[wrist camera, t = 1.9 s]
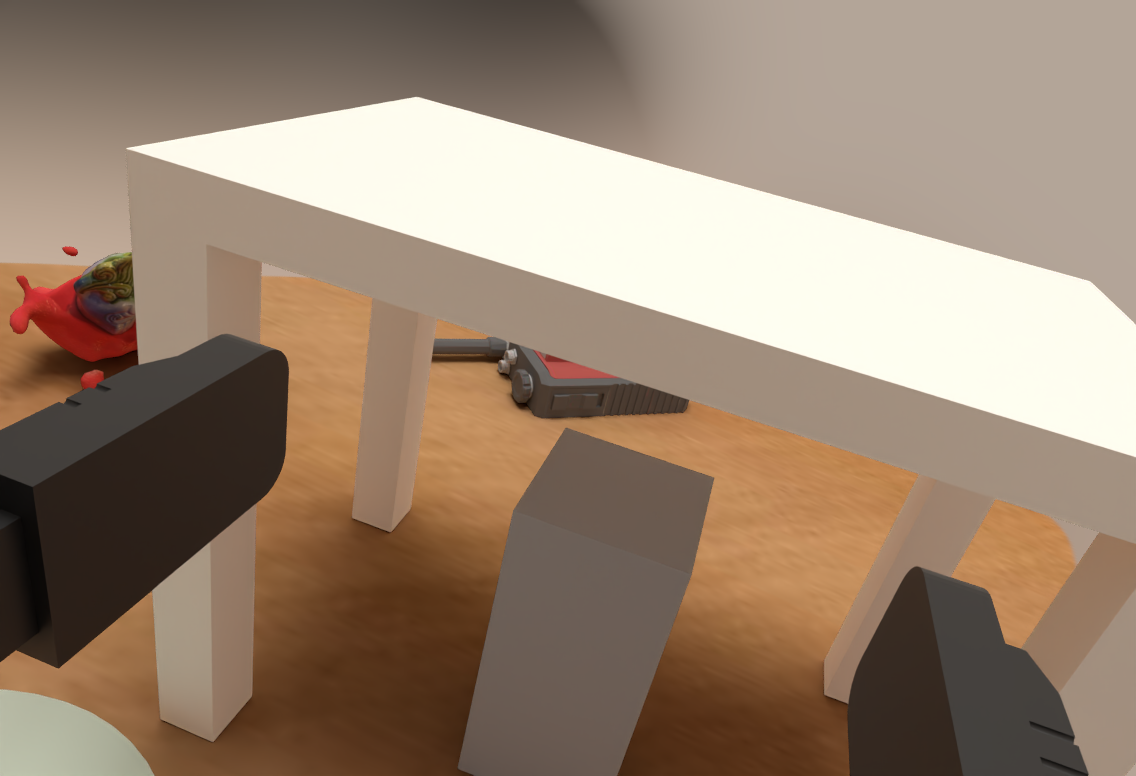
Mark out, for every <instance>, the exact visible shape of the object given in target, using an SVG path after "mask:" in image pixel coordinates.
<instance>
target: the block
mask: <svg viewBox="0 0 1136 776" xmlns="http://www.w3.org/2000/svg"><path fill="white" fill-rule="evenodd" d="M713 481H714V477H711V476H708V475H705V474H702V473H699V472H696V471H693V470H690V469H687V468H684V467H681V466H678V465H675V464H672V463H669V462H666V461H663V460H660V459H657V458H654V457H651V456H648V455H645V454H642V453H639V452H636V451H633V450H631V449H628V448H625V447H622V446H619V445H616V444H613V443H610V442H607V441H604V440H601V439H598V438H595V437H592V436H589V435H586V434H583V433H580V432H577V431H574V430H571V429H568V428H565V430H564V431H563V433H562V435H561V436H560V438H559V439H558V441H557V443H556V444H555V446H554V447H553V449H552V450H551V452H550V454H549V455H548V457H547V458H546V460H545V461H544V463H543V465H542V466H541V468H540V469H539V471H538V473H537V474H536V476H535V477H534V479H533V480H532V482H531V484H530V485H529V487H528V488H527V490H526V491H525V493H524V495H523V496H522V498H521V499H520V501H519V503H518V504H517V506H516V507H515V509H514V510H513V515H512V519H511V524H510V529H509V533H508V538H507V542H506V547H505V552H504V556H503V561H502V566H501V570H500V575H499V579H498V584H497V589H496V593H495V598H494V602H493V607H492V612H491V616H490V621H489V626H488V630H487V635H486V639H485V644H484V649H483V653H482V658H481V662H480V667H479V672H478V676H477V681H476V685H475V690H474V695H473V699H472V704H471V709H470V713H469V718H468V722H467V727H466V732H465V736H464V741H463V745H462V750H461V755H460V759H459V764H458V769H460V770H462V771H464V772H467V773H469V774H472V775H474V776H617V775H618V772H619V769H620V767H621V764H622V761H623V759H624V756H625V753H626V750H627V748H628V745H629V742H630V740H631V737H632V734H633V732H634V729H635V726H636V723H637V721H638V718H639V715H640V713H641V710H642V707H643V704H644V702H645V699H646V696H647V694H648V691H649V688H650V686H651V683H652V680H653V677H654V675H655V672H656V669H657V667H658V664H659V661H660V658H661V656H662V653H663V650H664V648H665V645H666V642H667V640H668V637H669V634H670V631H671V629H672V626H673V623H674V621H675V618H676V615H677V612H678V610H679V607H680V604H681V602H682V599H683V596H684V593H685V591H686V588H687V585H688V583H689V580H690V577H691V575H692V570H693V566H694V562H695V557H696V553H697V549H698V545H699V540H700V536H701V532H702V528H703V523H704V519H705V515H706V511H707V506H708V502H709V498H710V494H711V489H712V485H713Z"/></svg>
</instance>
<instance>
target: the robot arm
mask: <svg viewBox="0 0 1136 776" xmlns="http://www.w3.org/2000/svg"><path fill="white" fill-rule="evenodd" d="M288 379H289V367H288V361H287V358H286V356H285V355H284V354H283V353H282V352H281V351H279V350H276V349H273V348H270V347H267V346H264V345H261V344H258V343H255V342H252V341H249V340H246V339H243V338H240V337H237V336H234V335H231V334H221V335H219V336H216V337H214V338H212V339H210V340H208V341H206V342H204V343H202V344H200V345H198V346H196V347H194V348H192V349H190V350H188V351H186V352H184V353H182V354H180V355H178V356H175V357H170V358H166V359H162V360H157V361H153V362H149V363H144V364H140V365H135V366H132V367H130V368H128V369H126V370H124V371H122V372H120V373H117V374H115V375H113V376H111V377H109V378H107V379H105V380H103V381H101V382H99V383H97V385H96V387H95V388H94V389H93V388H91V387H89V388H87V389H84V390H82V391H80V392H78V393H76V394H74V395H72V396H70V397H68V398H66V402H65V403H64V404H63V403H60V402H58V403H56V404H54V405H51V406H49V407H47V408H45V409H43V410H41V411H39V412H37V413H35V414H33V415H31V416H29V417H27V418H25V419H23V420H21V421H18V422H16V423H14V424H12V425H10V426H8V427H6V428H4V429H2V430H0V662H1V661H2V660H4V659H5V658H6V657H8V656H9V655H10V654H11V653H13V652H14V651H15V650H17V651H19V652H22V653H24V654H26V655H28V656H31V657H33V658H35V659H38V660H40V661H42V662H45V663H47V664H49V665H51V666H54V667H56V668H58V669H59V668H60V667H61V666H62V665H63V664H65V663H66V662H67V661H68V660H69V659H71V658H72V657H73V656H74V655H75V654H77V653H78V652H79V651H80V650H81V649H82V648H84V647H85V646H86V645H87V644H88V643H90V642H91V641H92V640H93V639H94V638H96V637H97V636H98V635H99V634H100V633H102V632H103V631H104V630H105V629H106V628H108V627H109V626H110V625H111V624H112V623H114V622H115V621H116V620H117V619H118V618H120V617H121V616H122V615H123V614H124V613H126V612H127V611H128V610H129V609H130V608H132V607H133V606H134V605H135V604H136V603H138V602H139V601H140V600H141V599H142V598H144V597H145V596H146V595H147V594H148V593H150V592H151V591H152V590H153V589H154V588H155V587H157V586H158V585H159V584H160V583H161V582H163V581H164V580H165V579H166V578H167V577H169V576H170V575H171V574H172V573H173V572H175V571H176V570H177V569H178V568H179V567H181V566H182V565H183V564H184V563H185V562H187V561H188V560H189V559H190V558H191V557H193V556H194V555H195V554H196V553H197V552H199V551H200V550H201V549H202V548H203V547H205V546H206V545H207V544H208V543H209V542H211V541H212V540H213V539H214V538H215V537H217V536H218V535H219V534H220V533H221V532H223V531H224V530H225V529H226V528H227V527H229V526H230V525H231V524H232V523H233V522H234V521H236V520H237V519H238V518H239V517H240V516H242V515H243V514H244V513H245V512H246V511H248V510H249V509H250V508H251V507H252V506H254V505H255V504H256V503H257V502H258V501H260V500H261V499H262V498H263V497H264V496H265V495H266V494H267V493H268V492H269V491H270V489H271V488H272V487H273V485H274V483H275V482H276V480H277V478H278V476H279V474H280V472H281V469H282V466H283V463H284V458H285V451H286V429H287V404H288ZM1074 739H1075V735H1074V732H1073V729H1072V727H1071V724H1070V721H1069V718H1068V716H1067V713H1066V710H1065V708H1064V705H1063V702H1062V699H1061V697H1060V694H1059V693H1058V691H1057V690H1056V689H1055V687H1054V686H1053V685H1052V684H1051V682H1050V681H1049V680H1048V678H1047V677H1046V676H1045V675H1044V673H1043V672H1042V671H1041V669H1040V668H1039V667H1038V666H1037V664H1036V663H1035V662H1034V660H1033V659H1032V658H1031V656H1030V655H1029V654H1028V653H1027V651H1025V650H1022V649H1020V648H1017V647H1014V646H1011V645H1008V644H1005V641H1004V638H1003V635H1002V631H1001V628H1000V625H999V621H998V618H997V615H996V612H995V608H994V605H993V602H992V599H991V596H990V594H989V593H988V591H987V590H986V589H984V588H981V587H978V586H975V585H972V584H969V583H966V582H963V581H960V580H957V579H954V578H951V577H948V576H945V575H942V574H939V573H936V572H933V571H930V570H927V569H924V568H921V567H918V566H916V567H913V568H912V569H910V570H909V571H908V573H907V574H906V575H905V577H904V578H903V580H902V582H901V584H900V585H899V587H898V589H897V591H896V593H895V595H894V597H893V599H892V601H891V603H890V605H889V606H888V608H887V610H886V612H885V614H884V616H883V618H882V620H881V622H880V624H879V626H878V627H877V629H876V631H875V633H874V635H873V637H872V639H871V641H870V643H869V645H868V647H867V648H866V650H865V652H864V654H863V656H862V658H861V660H860V662H859V664H858V667H857V669H856V672H855V675H854V678H853V682H852V686H851V690H850V695H849V702H848V741H849V764H850V776H1088V775H1089V773H1088V771H1087V768H1086V765H1085V762H1084V760H1083V757H1082V754H1081V751H1080V749H1079V746H1077V745H1074Z"/></svg>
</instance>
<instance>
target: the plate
mask: <svg viewBox="0 0 1136 776" xmlns="http://www.w3.org/2000/svg"><path fill="white" fill-rule="evenodd" d="M0 776H154V774H153V772H152V770H151V768H150V766H149V765H148V763H147V761H146V760H145V759H144V757H143V756H142V755H141V754H140V752H139V751H138V750H137V749H136V747H135V746H134V745H133V744H132V742H131V741H129V740H128V739H127V738H126V737H125V736H124V735H123V734H121V733H120V732H119V731H118V730H117V729H116V728H115V727H113V726H112V725H111V724H109V723H107V722H106V721H104V720H102V719H101V718H99V717H98V716H96V715H94V714H93V713H91V712H89V711H87V710H84V709H82V708H79V707H77V706H75V705H72V704H70V703H67V702H65V701H61V700H57V699H54V698H50V697H46V696H42V695H39V694H33V693H26V692H19V691H12V690H0Z"/></svg>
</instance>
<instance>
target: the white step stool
mask: <svg viewBox="0 0 1136 776" xmlns="http://www.w3.org/2000/svg"><path fill="white" fill-rule="evenodd" d="M126 162H127V179H128V196H129V212H130V229H131V246H132V262H133V279H134V296H135V312H136V329H137V345H138V362H139V365H140V364H144V363H149V362H153V361H157V360H162V359H166V358H170V357H175V356H178V355H180V354H182V353H184V352H186V351H188V350H190V349H192V348H194V347H196V346H198V345H200V344H202V343H204V342H206V341H208V340H210V339H212V338H214V337H216V336H219V335H221V334H231V335H234V336H237V337H240V338H243V339H246V340H249V341H252V342H255V343H258V344H260V315H261V268H262V267H261V266H262V262H263V263H266V264H269V265H272V266H275V267H279V268H282V269H285V270H288V271H291V272H294V273H297V274H300V275H304V276H307V277H310V278H313V279H316V280H319V281H322V282H325V283H328V284H331V285H334V286H337V287H341V288H344V289H347V290H350V291H353V292H356V293H359V294H362V295H365V296H368V297H372V298H373V299H372V309H371V320H370V330H369V341H368V351H367V362H366V373H365V383H364V394H363V404H362V415H361V425H360V436H359V447H358V457H357V468H356V478H355V489H354V499H353V510H352V518H354V519H356V520H359V521H362V522H364V523H367V524H370V525H372V526H375V527H378V528H380V529H383V530H386V531H388V532H392V530H393V529H394V528H395V527H396V526H397V525H398V523H399V522H400V521H401V520H402V519H403V518H404V516H405V515H406V514H407V513H408V512H409V510H410V509H411V504H412V497H413V490H414V482H415V475H416V468H417V461H418V454H419V446H420V439H421V432H422V425H423V417H424V410H425V403H426V396H427V389H428V381H429V374H430V367H431V360H432V353H433V345H434V338H435V331H436V324H437V319H440V320H443V321H446V322H449V323H452V324H455V325H458V326H462V327H465V328H468V329H471V330H474V331H477V332H480V333H483V334H486V335H489V336H493V337H496V338H499V339H502V340H505V341H508V342H511V343H514V344H517V345H520V346H524V347H527V348H530V349H533V350H536V351H539V352H542V353H545V354H548V355H551V356H555V357H558V358H561V359H564V360H567V361H570V362H573V363H576V364H579V365H582V366H586V367H589V368H592V369H595V370H598V371H601V372H604V373H607V374H610V375H613V376H617V377H620V378H623V379H626V380H629V381H632V382H635V383H638V384H641V385H644V386H648V387H651V388H654V389H657V390H660V391H663V392H666V393H669V394H672V395H675V396H679V397H682V398H685V399H688V400H691V401H694V402H697V403H700V404H703V405H706V406H710V407H713V408H716V409H719V410H722V411H725V412H728V413H731V414H734V415H737V416H741V417H744V418H747V419H750V420H753V421H756V422H759V423H762V424H765V425H768V426H772V427H775V428H778V429H781V430H784V431H787V432H790V433H793V434H796V435H799V436H803V437H806V438H809V439H812V440H815V441H818V442H821V443H824V444H827V445H830V446H834V447H837V448H840V449H843V450H846V451H849V452H852V453H855V454H858V455H861V456H865V457H868V458H871V459H874V460H877V461H880V462H883V463H886V464H889V465H892V466H896V467H899V468H902V469H905V470H908V471H911V472H914V473H917V474H919V475H918V477H917V479H916V481H915V483H914V485H913V487H912V489H911V491H910V493H909V495H908V497H907V499H906V501H905V503H904V505H903V507H902V509H901V511H900V513H899V514H898V516H897V518H896V520H895V522H894V524H893V526H892V528H891V530H890V532H889V534H888V536H887V538H886V540H885V542H884V544H883V546H882V548H881V550H880V552H879V554H878V556H877V558H876V560H875V562H874V564H873V565H872V567H871V569H870V571H869V573H868V575H867V577H866V579H865V581H864V583H863V585H862V587H861V589H860V591H859V593H858V595H857V597H856V599H855V601H854V603H853V605H852V607H851V609H850V611H849V613H848V615H847V616H846V618H845V620H844V622H843V624H842V626H841V628H840V630H839V632H838V634H837V636H836V638H835V640H834V642H833V644H832V646H831V648H830V650H829V652H828V654H827V656H826V658H825V660H824V695H826V696H829V697H831V698H834V699H837V700H839V701H842V702H845V703H847V704H848V702H849V695H850V690H851V686H852V682H853V678H854V675H855V672H856V669H857V667H858V664H859V662H860V660H861V658H862V656H863V654H864V652H865V650H866V648H867V647H868V645H869V643H870V641H871V639H872V637H873V635H874V633H875V631H876V629H877V627H878V626H879V624H880V622H881V620H882V618H883V616H884V614H885V612H886V610H887V608H888V606H889V605H890V603H891V601H892V599H893V597H894V595H895V593H896V591H897V589H898V587H899V585H900V584H901V582H902V580H903V578H904V577H905V575H906V574H907V573H908V571H909V570H910V569H912V568H913V567H916V566H918V567H921V568H924V569H927V570H930V571H933V572H936V573H939V574H942V575H945V576H948V577H951V575H952V574H953V572H954V570H955V568H956V567H957V565H958V563H959V561H960V560H961V558H962V556H963V555H964V553H965V551H966V549H967V548H968V546H969V544H970V542H971V541H972V539H973V537H974V535H975V534H976V532H977V530H978V529H979V527H980V525H981V523H982V522H983V520H984V518H985V516H986V515H987V513H988V511H989V509H990V508H991V506H992V504H993V503H994V501H995V499H998V500H1001V501H1004V502H1007V503H1010V504H1013V505H1017V506H1020V507H1023V508H1026V509H1029V510H1032V511H1035V512H1038V513H1041V514H1044V515H1048V516H1051V517H1054V518H1057V519H1060V520H1063V521H1066V522H1069V523H1073V524H1075V525H1079V526H1082V527H1085V528H1088V529H1091V530H1094V531H1097V532H1099V534H1098V535H1097V536H1096V538H1095V540H1094V541H1093V543H1092V544H1091V545H1090V547H1089V548H1088V550H1087V551H1086V553H1085V554H1084V556H1083V557H1082V559H1081V560H1080V562H1079V563H1078V565H1077V566H1076V568H1075V569H1074V571H1073V572H1072V574H1071V575H1070V577H1069V578H1068V580H1067V581H1066V583H1065V584H1064V585H1063V587H1062V588H1061V590H1060V591H1059V593H1058V594H1057V596H1056V597H1055V599H1054V600H1053V602H1052V603H1051V605H1050V606H1049V608H1048V609H1047V611H1046V612H1045V614H1044V615H1043V617H1042V618H1041V620H1040V621H1039V623H1038V624H1037V626H1036V627H1035V629H1034V630H1033V632H1032V633H1031V635H1030V636H1029V638H1028V639H1027V641H1026V642H1025V644H1024V645H1023V647H1022V648H1021V649H1022V650H1025V651H1027V653H1028V654H1029V655H1030V656H1031V658H1032V659H1033V660H1034V662H1035V663H1036V664H1037V666H1038V667H1039V668H1040V669H1041V671H1042V672H1043V673H1044V675H1045V676H1046V677H1047V678H1048V680H1049V681H1050V682H1051V684H1052V685H1053V686H1054V687H1055V689H1056V690H1057V691H1058V693H1059V694H1060V697H1061V699H1062V702H1063V705H1064V708H1065V710H1066V713H1067V716H1068V718H1069V721H1070V724H1071V727H1072V729H1073V732H1074V735H1075V739H1074V745H1077V746H1079V749H1080V751H1081V754H1082V757H1083V760H1084V762H1085V765H1086V768H1087V771H1088V773H1089V775H1088V776H1125V775H1126V774H1127V773H1128V771H1130V769H1131V768H1132V767H1133V766H1134V765H1135V763H1136V324H1135V323H1134V322H1133V321H1131V320H1130V319H1129V318H1128V317H1127V316H1126V315H1125V314H1124V313H1123V312H1122V311H1121V310H1120V309H1119V308H1118V307H1117V306H1116V305H1115V304H1113V303H1112V302H1111V301H1110V300H1109V299H1108V298H1107V297H1106V296H1105V295H1104V294H1103V293H1102V292H1101V291H1100V290H1099V289H1098V288H1097V287H1096V286H1094V285H1093V284H1092V283H1091V282H1090V281H1087V280H1083V279H1079V278H1076V277H1072V276H1068V275H1065V274H1062V273H1058V272H1054V271H1050V270H1047V269H1043V268H1040V267H1035V266H1032V265H1029V264H1025V263H1021V262H1017V261H1013V260H1010V259H1007V258H1003V257H999V256H996V255H992V254H988V253H985V252H981V251H977V250H974V249H970V248H967V247H963V246H959V245H955V244H952V243H948V242H945V241H941V240H937V239H934V238H930V237H926V236H923V235H919V234H915V233H912V232H908V231H904V230H901V229H897V228H893V227H889V226H886V225H883V224H879V223H875V222H871V221H868V220H864V219H860V218H857V217H853V216H850V215H846V214H842V213H839V212H835V211H831V210H828V209H824V208H820V207H816V206H813V205H809V204H805V203H802V202H799V201H794V200H791V199H787V198H784V197H780V196H777V195H773V194H769V193H766V192H761V191H758V190H755V189H751V188H747V187H743V186H740V185H736V184H733V183H729V182H725V181H722V180H718V179H714V178H711V177H707V176H704V175H700V174H696V173H692V172H689V171H685V170H681V169H678V168H674V167H670V166H667V165H663V164H659V163H656V162H652V161H648V160H645V159H641V158H638V157H634V156H630V155H626V154H623V153H619V152H616V151H612V150H608V149H605V148H601V147H597V146H594V145H590V144H587V143H583V142H579V141H576V140H572V139H568V138H565V137H561V136H557V135H554V134H550V133H546V132H543V131H539V130H536V129H531V128H528V127H525V126H521V125H517V124H513V123H510V122H506V121H502V120H499V119H495V118H492V117H488V116H484V115H481V114H477V113H473V112H469V111H466V110H462V109H459V108H455V107H451V106H447V105H444V104H441V103H437V102H433V101H430V100H426V99H422V98H418V97H414V98H408V99H403V100H398V101H392V102H386V103H380V104H374V105H369V106H363V107H357V108H352V109H346V110H340V111H335V112H329V113H323V114H318V115H312V116H306V117H301V118H295V119H289V120H285V121H278V122H273V123H267V124H261V125H255V126H251V127H244V128H239V129H233V130H228V131H221V132H216V133H211V134H205V135H199V136H194V137H187V138H182V139H176V140H170V141H165V142H159V143H153V144H148V145H143V146H137V147H131V148H126ZM255 544H256V504H255V505H254V506H252V507H251V508H250V509H249V510H248V511H246V512H245V513H244V514H243V515H242V516H240V517H239V518H238V519H237V520H236V521H234V522H233V523H232V524H231V525H230V526H229V527H227V528H226V529H225V530H224V531H223V532H221V533H220V534H219V535H218V536H217V537H215V538H214V539H213V540H212V541H211V542H209V543H208V544H207V545H206V546H205V547H203V548H202V549H201V550H200V551H199V552H197V553H196V554H195V555H194V556H193V557H191V558H190V559H189V560H188V561H187V562H185V563H184V564H183V565H182V566H181V567H179V568H178V569H177V570H176V571H175V572H173V573H172V574H171V575H170V576H169V577H167V578H166V579H165V580H164V581H163V582H161V583H160V584H159V585H158V586H157V587H155V588H154V589H153V590H152V593H153V610H154V626H155V643H156V659H157V676H158V692H159V709H160V719H161V720H163V721H166V722H168V723H170V724H173V725H175V726H177V727H179V728H182V729H184V730H186V731H188V732H191V733H193V734H195V735H198V736H200V737H202V738H204V739H207V740H209V741H211V742H214V740H215V739H216V738H217V737H218V736H219V735H220V733H221V732H222V731H223V730H224V729H225V728H226V726H227V725H228V724H229V723H230V722H231V720H232V719H233V718H234V717H235V716H236V715H237V713H238V712H239V711H240V710H241V709H242V707H243V706H244V705H245V704H246V703H247V702H248V700H249V699H250V698H251V697H252V681H253V635H254V590H255Z"/></svg>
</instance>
